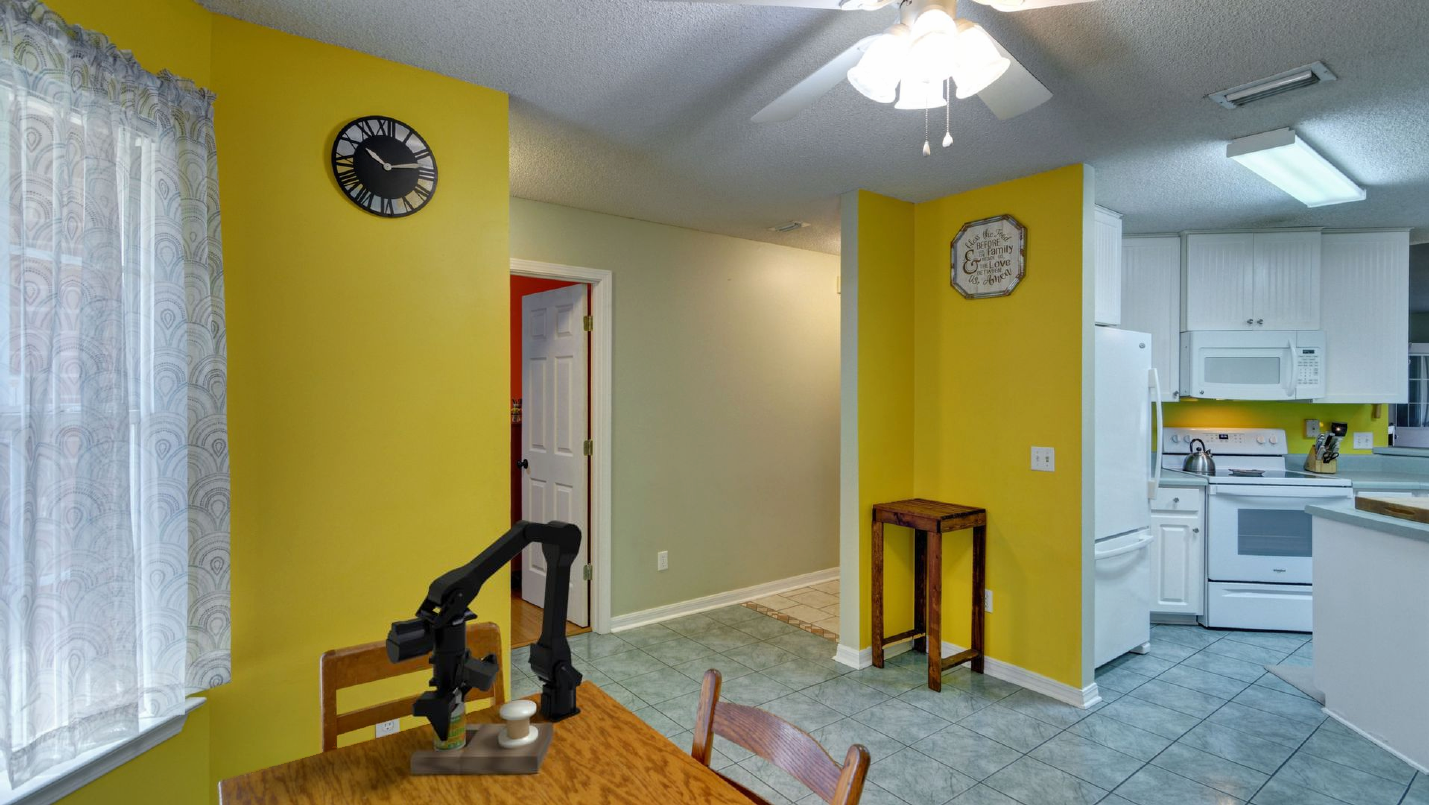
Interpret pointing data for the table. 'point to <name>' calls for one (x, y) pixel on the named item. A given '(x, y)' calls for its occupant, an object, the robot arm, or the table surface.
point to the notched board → (485, 754)
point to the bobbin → (518, 725)
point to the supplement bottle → (454, 728)
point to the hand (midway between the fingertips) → (450, 732)
